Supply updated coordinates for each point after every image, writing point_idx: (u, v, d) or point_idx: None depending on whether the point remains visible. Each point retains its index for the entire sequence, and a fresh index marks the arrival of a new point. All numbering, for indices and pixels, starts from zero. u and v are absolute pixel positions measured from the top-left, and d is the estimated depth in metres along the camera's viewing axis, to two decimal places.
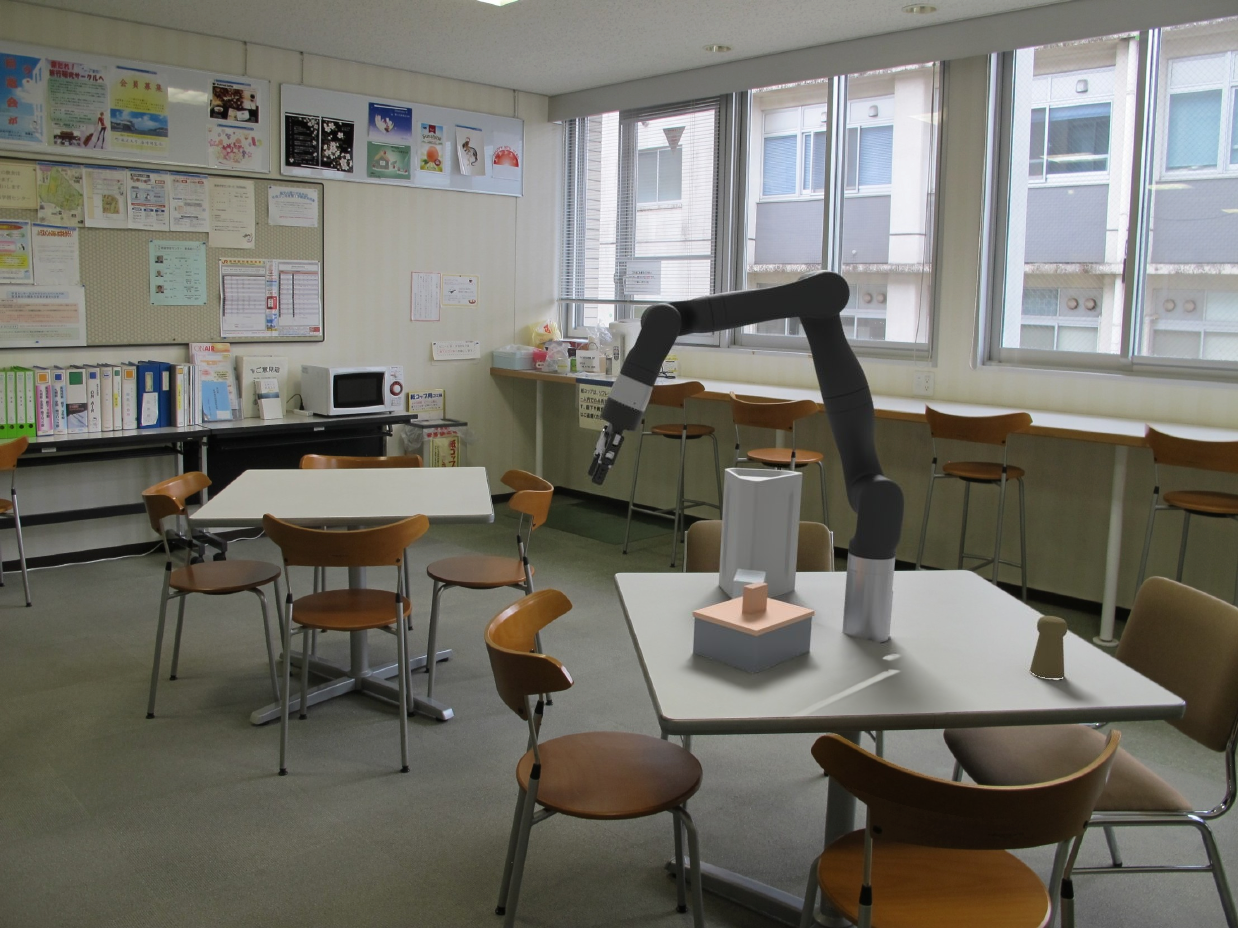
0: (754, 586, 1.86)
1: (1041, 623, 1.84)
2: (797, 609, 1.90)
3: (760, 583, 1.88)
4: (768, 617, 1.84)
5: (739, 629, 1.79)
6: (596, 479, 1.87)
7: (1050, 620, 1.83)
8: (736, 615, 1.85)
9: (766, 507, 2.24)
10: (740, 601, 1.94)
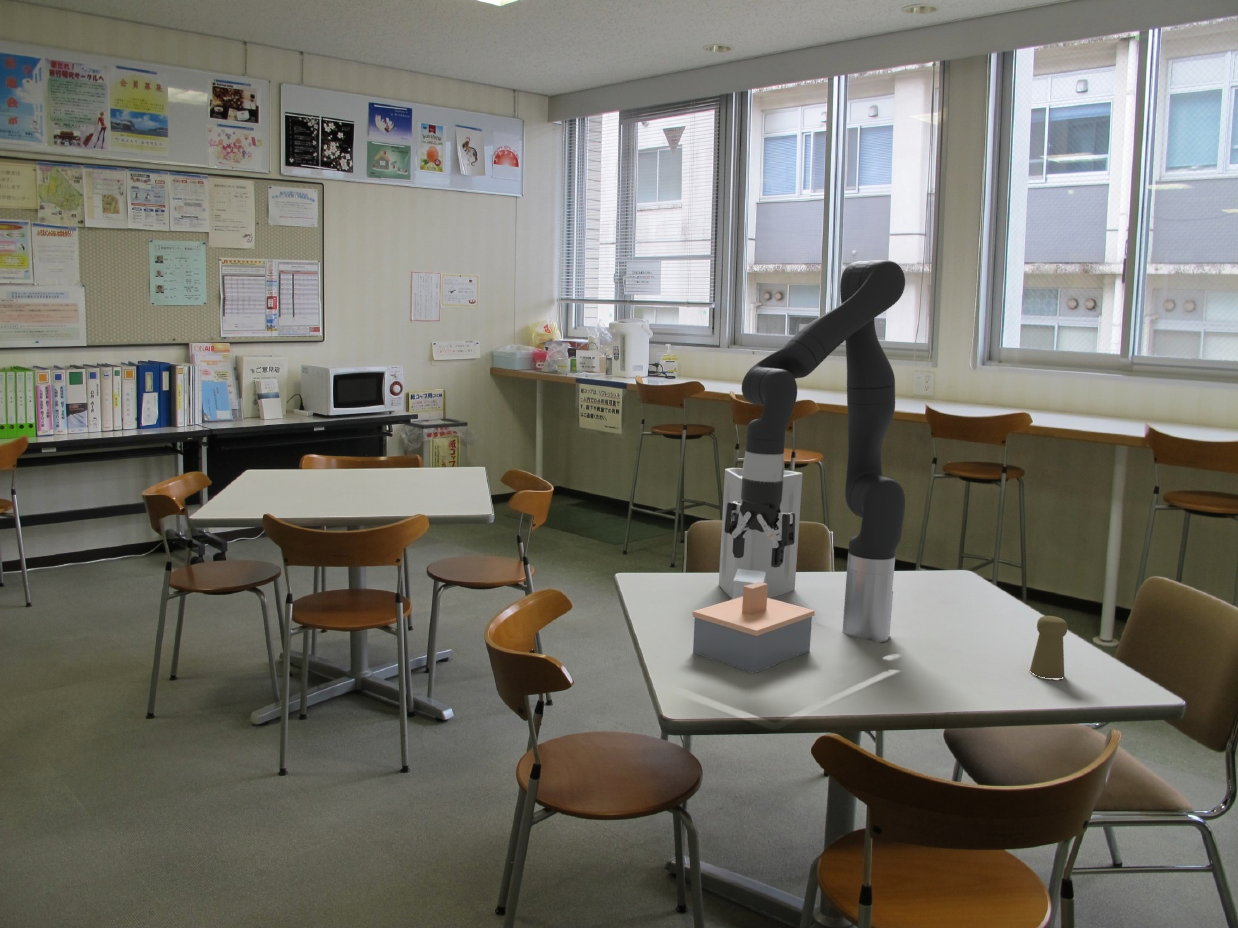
0: (754, 586, 1.86)
1: (1041, 623, 1.84)
2: (797, 609, 1.90)
3: (760, 583, 1.88)
4: (768, 617, 1.84)
5: (739, 629, 1.79)
6: (779, 563, 1.83)
7: (1050, 620, 1.83)
8: (736, 615, 1.85)
9: None
10: (740, 601, 1.94)
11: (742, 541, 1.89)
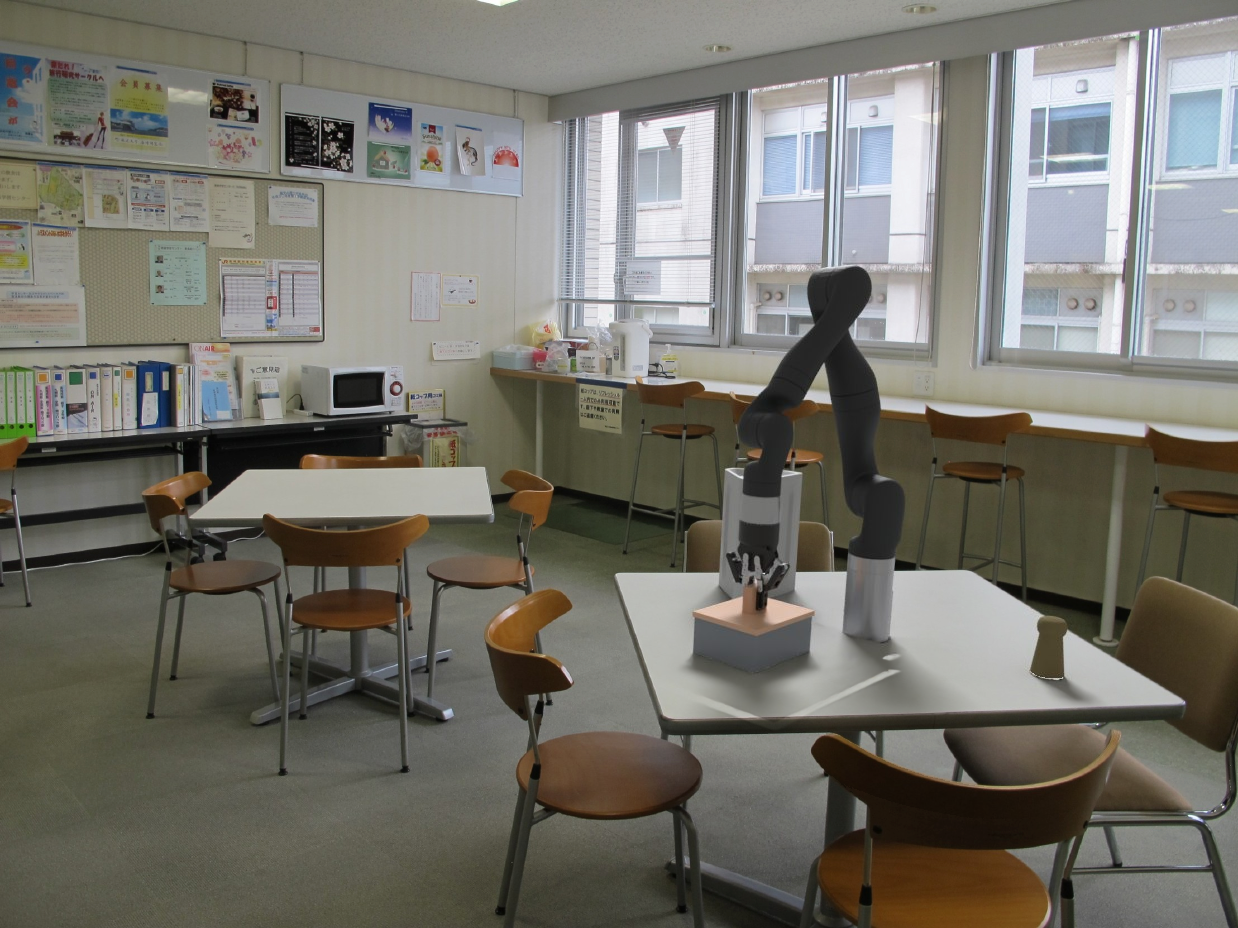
0: (754, 586, 1.86)
1: (1041, 623, 1.84)
2: (797, 609, 1.90)
3: None
4: (768, 617, 1.84)
5: (739, 629, 1.79)
6: (763, 607, 1.86)
7: (1050, 620, 1.83)
8: (736, 615, 1.85)
9: None
10: (740, 601, 1.94)
11: None
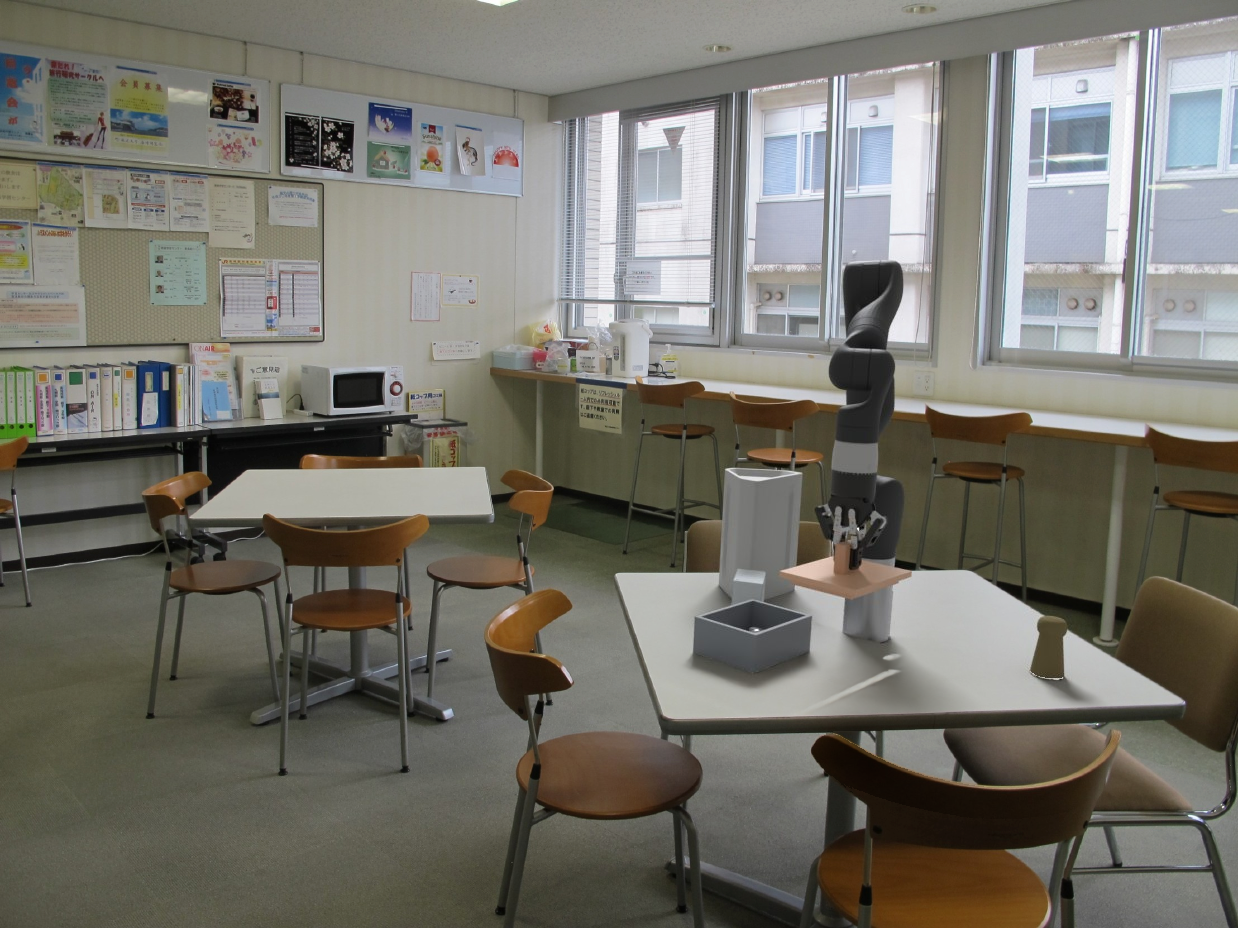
0: (847, 543, 1.69)
1: (1041, 623, 1.84)
2: (892, 570, 1.73)
3: None
4: (864, 577, 1.67)
5: (835, 589, 1.62)
6: (857, 565, 1.69)
7: (1050, 620, 1.83)
8: (828, 574, 1.68)
9: (766, 507, 2.24)
10: (827, 562, 1.77)
11: None
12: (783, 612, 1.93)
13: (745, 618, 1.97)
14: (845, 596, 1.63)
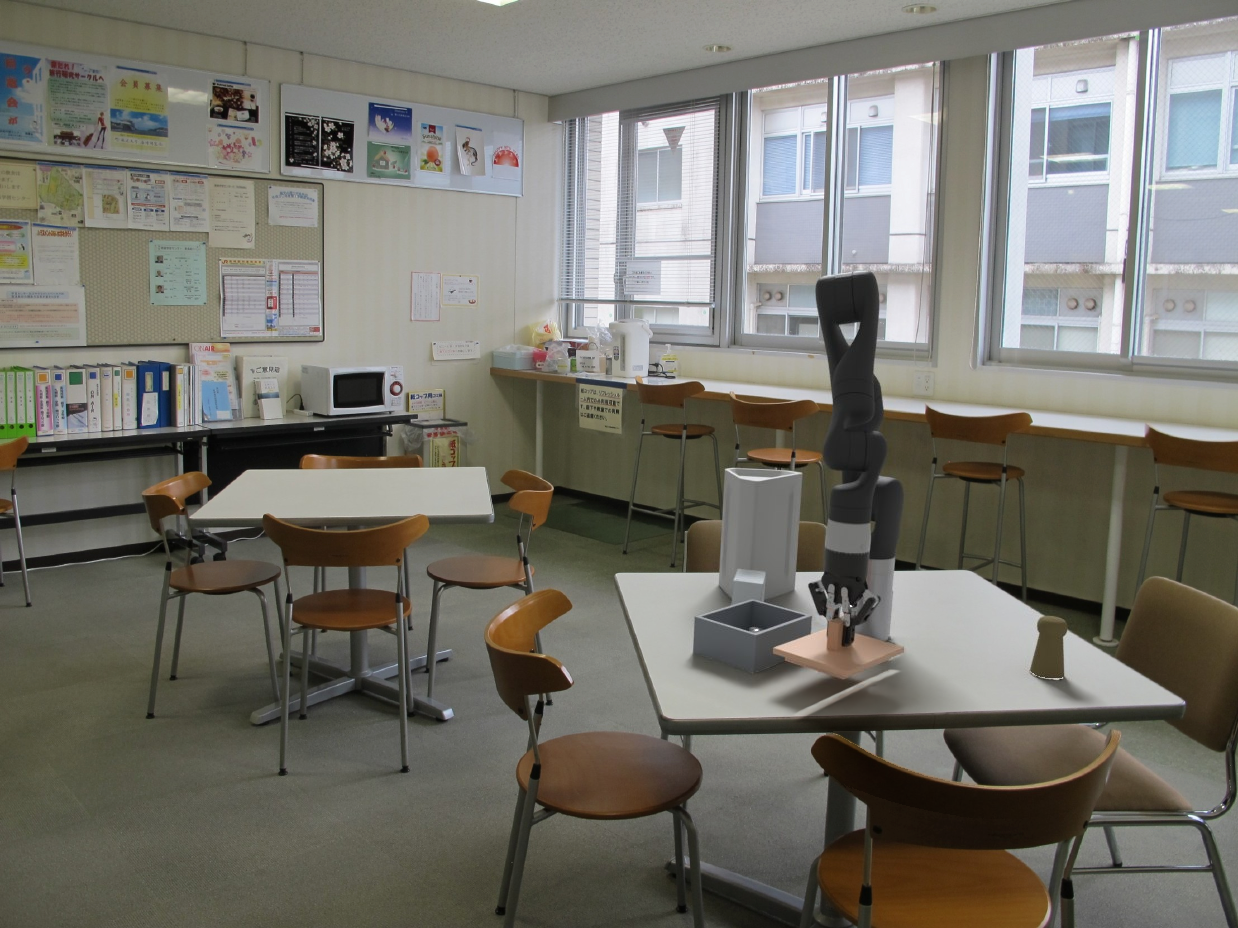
0: (840, 621, 1.71)
1: (1041, 623, 1.84)
2: (885, 646, 1.75)
3: None
4: (856, 655, 1.69)
5: (827, 669, 1.64)
6: (850, 642, 1.71)
7: (1050, 620, 1.83)
8: (821, 652, 1.70)
9: (766, 507, 2.24)
10: (821, 635, 1.79)
11: None
12: (783, 612, 1.93)
13: (745, 618, 1.97)
14: (837, 675, 1.65)
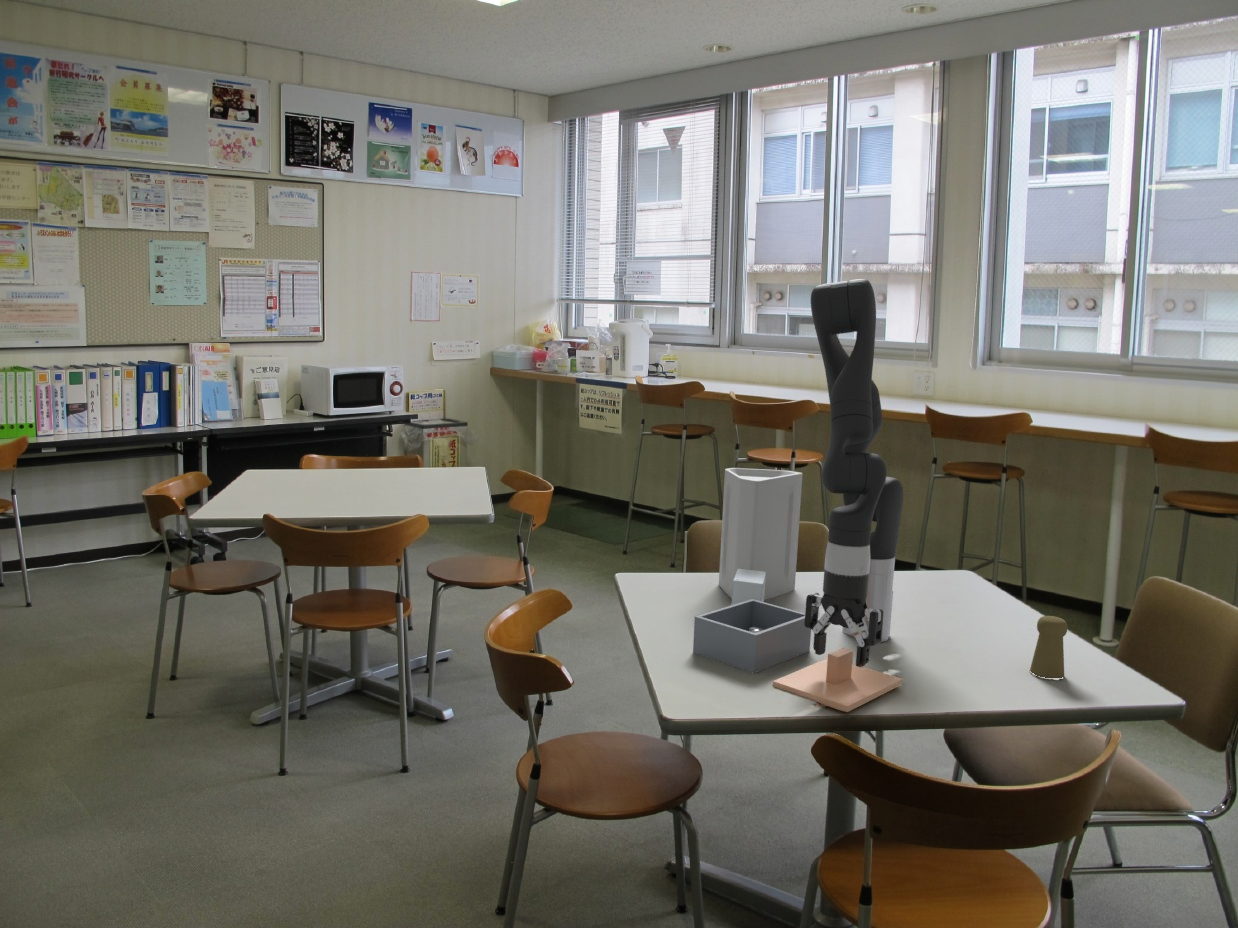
0: (839, 654, 1.72)
1: (1041, 623, 1.84)
2: (883, 678, 1.76)
3: (845, 650, 1.75)
4: (856, 688, 1.70)
5: (827, 703, 1.65)
6: (864, 662, 1.70)
7: (1050, 620, 1.83)
8: (820, 685, 1.71)
9: (766, 507, 2.24)
10: (820, 667, 1.80)
11: (824, 636, 1.76)
12: (783, 612, 1.93)
13: (745, 618, 1.97)
14: None
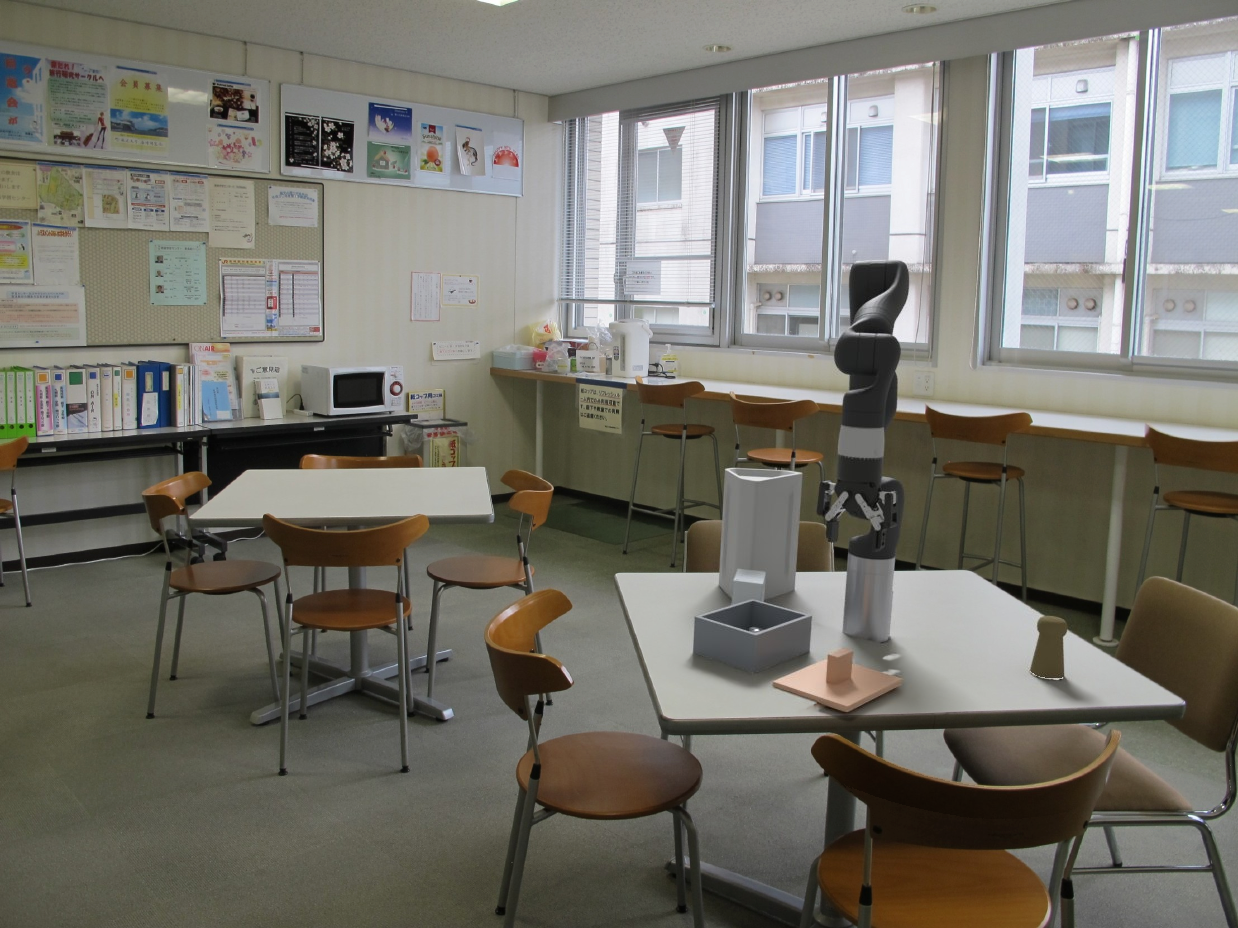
0: (839, 654, 1.72)
1: (1041, 623, 1.84)
2: (883, 678, 1.76)
3: (844, 650, 1.75)
4: (856, 688, 1.70)
5: (827, 704, 1.65)
6: (880, 547, 1.67)
7: (1050, 620, 1.83)
8: (820, 685, 1.71)
9: (766, 507, 2.24)
10: (820, 667, 1.80)
11: (836, 524, 1.73)
12: (783, 612, 1.93)
13: (745, 618, 1.97)
14: None
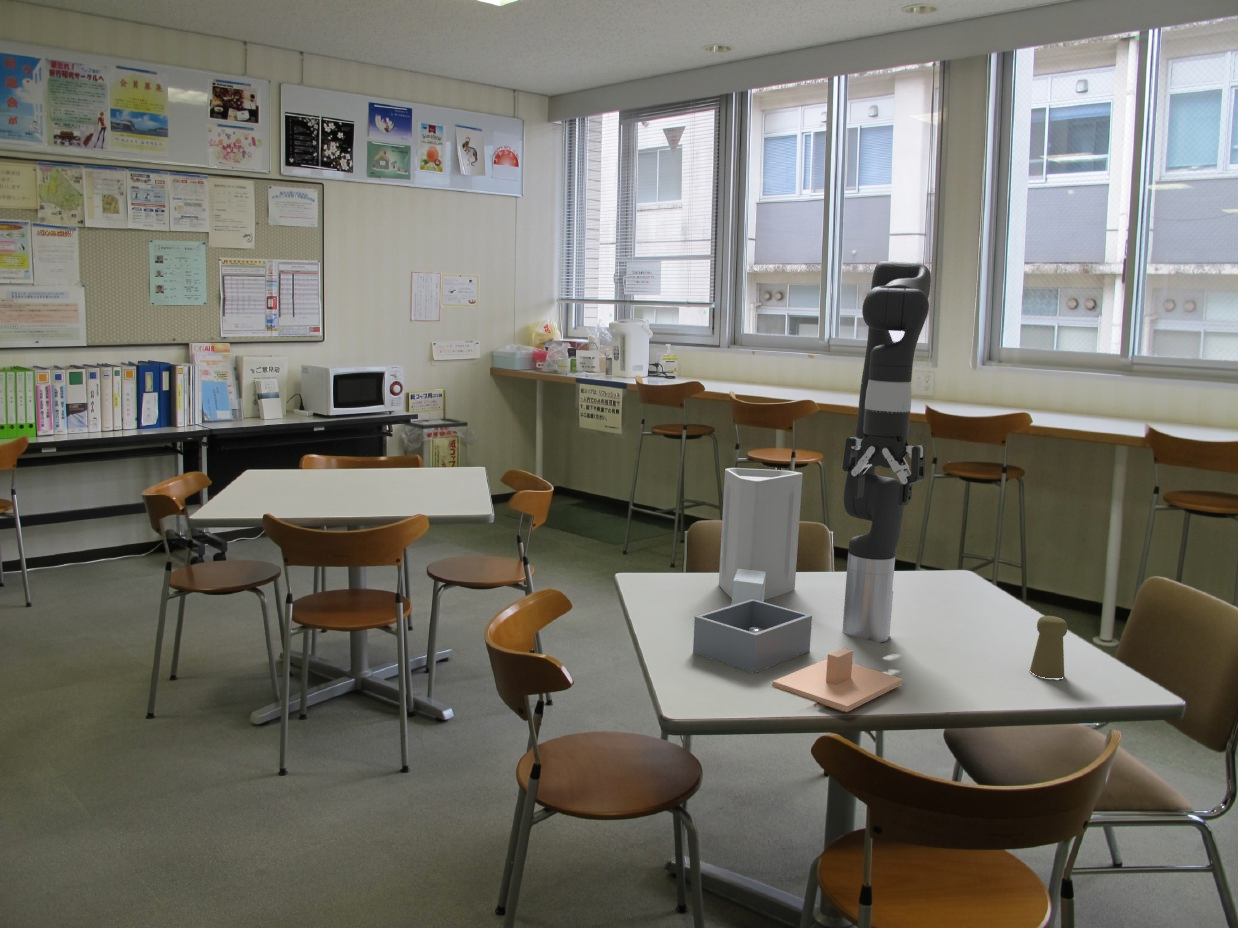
0: (839, 654, 1.72)
1: (1041, 623, 1.84)
2: (883, 678, 1.76)
3: (844, 650, 1.75)
4: (856, 688, 1.70)
5: (827, 703, 1.65)
6: (907, 501, 1.68)
7: (1050, 620, 1.83)
8: (820, 685, 1.71)
9: (766, 507, 2.24)
10: (820, 667, 1.80)
11: (862, 479, 1.75)
12: (783, 612, 1.93)
13: (745, 618, 1.97)
14: None
